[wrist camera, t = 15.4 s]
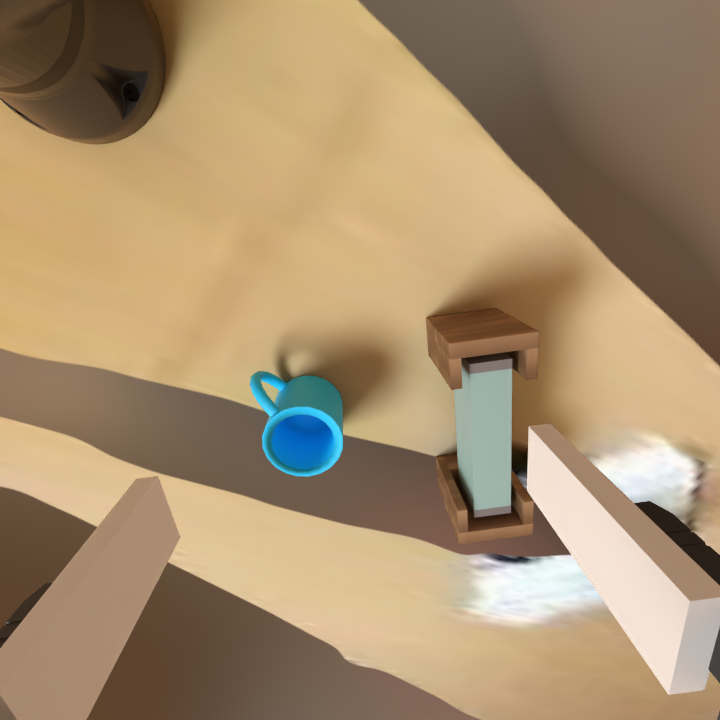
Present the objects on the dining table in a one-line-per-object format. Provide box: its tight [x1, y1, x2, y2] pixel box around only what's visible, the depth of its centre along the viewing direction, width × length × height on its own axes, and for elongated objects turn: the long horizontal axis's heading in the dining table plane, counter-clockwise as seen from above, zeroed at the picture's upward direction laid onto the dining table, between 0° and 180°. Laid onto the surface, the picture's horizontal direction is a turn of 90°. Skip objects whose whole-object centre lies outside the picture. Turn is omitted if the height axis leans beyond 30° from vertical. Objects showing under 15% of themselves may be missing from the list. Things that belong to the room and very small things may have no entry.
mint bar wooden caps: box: [426, 308, 539, 544], centre depth 43 cm, size 23×8×10 cm, turn 7°
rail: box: [454, 352, 512, 518], centre depth 42 cm, size 18×4×6 cm, turn 7°
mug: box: [250, 371, 343, 476], centre depth 42 cm, size 12×8×8 cm
